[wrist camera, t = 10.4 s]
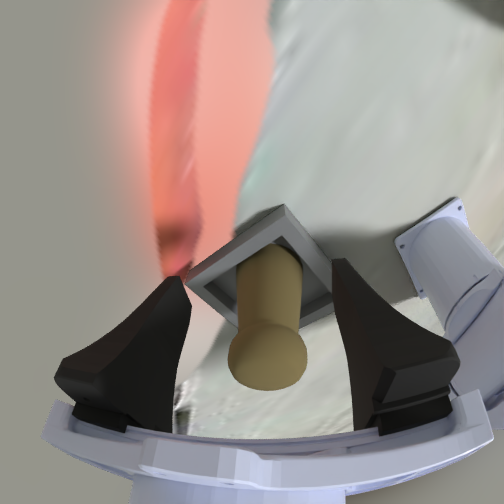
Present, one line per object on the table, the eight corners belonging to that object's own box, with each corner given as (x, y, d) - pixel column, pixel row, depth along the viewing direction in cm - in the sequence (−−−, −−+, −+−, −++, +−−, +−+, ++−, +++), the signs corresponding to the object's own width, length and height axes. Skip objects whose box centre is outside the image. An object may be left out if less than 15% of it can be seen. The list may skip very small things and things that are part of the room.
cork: (248, 301, 27) (237, 403, 18) (225, 252, 24) (201, 360, 15) (308, 289, 26) (321, 394, 17) (294, 235, 23) (307, 346, 13)
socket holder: (349, 287, 26) (353, 301, 24) (261, 332, 30) (261, 346, 29) (284, 203, 22) (285, 215, 20) (189, 270, 26) (184, 284, 24)
